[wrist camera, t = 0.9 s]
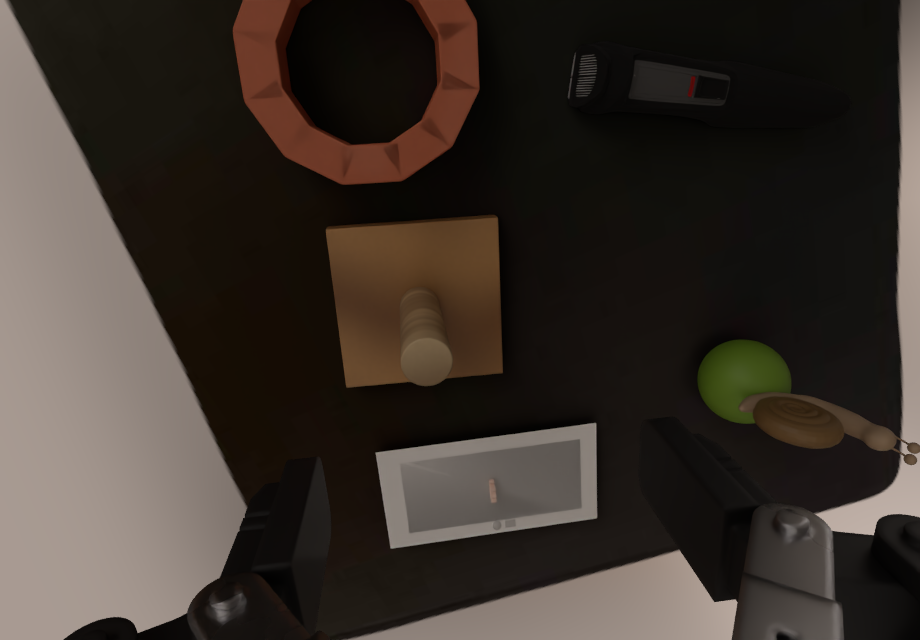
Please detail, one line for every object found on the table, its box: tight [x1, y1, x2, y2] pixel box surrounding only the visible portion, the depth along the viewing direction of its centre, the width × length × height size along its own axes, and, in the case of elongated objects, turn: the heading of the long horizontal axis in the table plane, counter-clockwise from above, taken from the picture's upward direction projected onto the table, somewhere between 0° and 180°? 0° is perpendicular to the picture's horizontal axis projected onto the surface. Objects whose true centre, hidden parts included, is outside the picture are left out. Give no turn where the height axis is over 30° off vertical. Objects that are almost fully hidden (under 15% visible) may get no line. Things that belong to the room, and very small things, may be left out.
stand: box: [326, 215, 503, 388], centre depth 30 cm, size 10×10×10 cm
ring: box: [233, 0, 480, 185], centre depth 29 cm, size 12×12×3 cm
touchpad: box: [376, 423, 597, 549], centre depth 38 cm, size 8×15×2 cm, turn 96°
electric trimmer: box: [568, 41, 852, 128], centre depth 31 cm, size 4×16×3 cm, turn 84°
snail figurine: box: [697, 339, 920, 465], centre depth 33 cm, size 5×6×12 cm
